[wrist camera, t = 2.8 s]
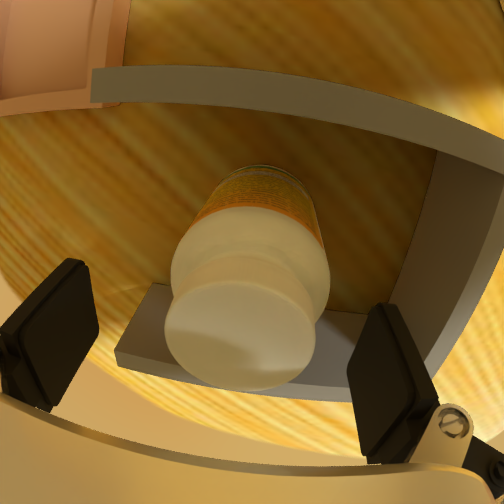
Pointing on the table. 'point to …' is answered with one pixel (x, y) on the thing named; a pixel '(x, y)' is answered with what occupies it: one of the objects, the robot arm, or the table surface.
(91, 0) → the tray
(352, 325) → the bay
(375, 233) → the table surface
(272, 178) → the supplement bottle
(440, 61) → the table surface
